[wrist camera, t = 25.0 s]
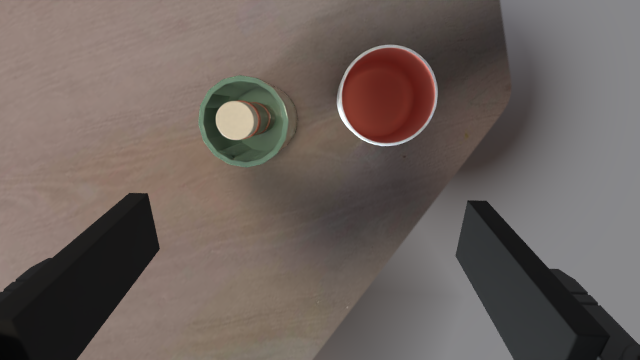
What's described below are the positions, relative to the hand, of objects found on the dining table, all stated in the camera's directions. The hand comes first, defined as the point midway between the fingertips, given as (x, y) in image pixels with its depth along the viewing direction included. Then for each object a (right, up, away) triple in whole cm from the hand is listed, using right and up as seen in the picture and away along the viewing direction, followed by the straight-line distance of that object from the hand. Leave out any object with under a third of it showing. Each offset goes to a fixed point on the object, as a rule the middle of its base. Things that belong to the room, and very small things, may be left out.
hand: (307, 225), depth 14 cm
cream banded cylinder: (-7, +10, +30) cm, 33 cm away
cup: (+8, +12, +30) cm, 33 cm away
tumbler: (-7, +10, +31) cm, 33 cm away
